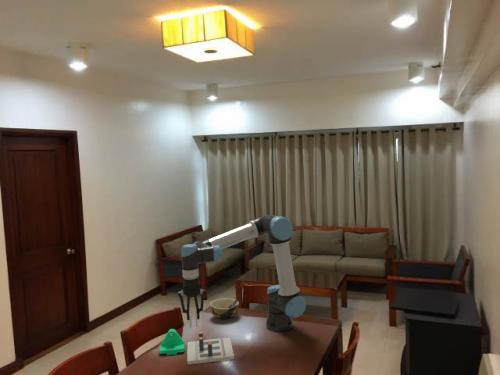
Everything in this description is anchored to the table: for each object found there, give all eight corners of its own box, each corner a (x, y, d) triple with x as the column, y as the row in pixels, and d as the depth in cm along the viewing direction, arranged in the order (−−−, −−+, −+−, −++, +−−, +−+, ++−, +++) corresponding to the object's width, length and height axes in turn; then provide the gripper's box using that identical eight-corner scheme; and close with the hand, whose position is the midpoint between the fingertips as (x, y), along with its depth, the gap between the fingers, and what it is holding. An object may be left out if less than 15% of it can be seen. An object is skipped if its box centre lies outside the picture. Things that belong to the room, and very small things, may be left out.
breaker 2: (212, 352, 204) (211, 341, 204) (212, 354, 201) (211, 344, 201) (208, 352, 204) (207, 342, 203) (208, 355, 201) (207, 344, 201)
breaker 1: (203, 347, 210) (202, 336, 210) (203, 349, 208) (203, 339, 207) (199, 347, 210) (198, 337, 210) (199, 349, 207) (199, 339, 207)
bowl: (207, 323, 248) (206, 307, 248) (214, 312, 266) (213, 297, 265) (236, 323, 245) (235, 307, 245) (242, 312, 263) (241, 297, 262)
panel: (230, 340, 222) (229, 337, 222) (234, 359, 200) (233, 355, 200) (187, 345, 219) (187, 341, 219) (187, 364, 197) (187, 360, 197)
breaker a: (203, 341, 217) (202, 331, 217) (203, 343, 215) (202, 333, 214) (199, 341, 217) (198, 331, 217) (199, 344, 214) (198, 333, 214)
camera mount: (159, 356, 208) (158, 335, 207) (161, 349, 215) (160, 329, 215) (184, 353, 209) (182, 333, 209) (184, 347, 217) (183, 327, 216)
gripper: (206, 274, 204) (209, 321, 205) (174, 276, 202) (177, 324, 203) (207, 278, 197) (210, 327, 198) (174, 280, 195) (177, 330, 196)
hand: (193, 326), depth 201 cm, fingers open, 2 cm apart
